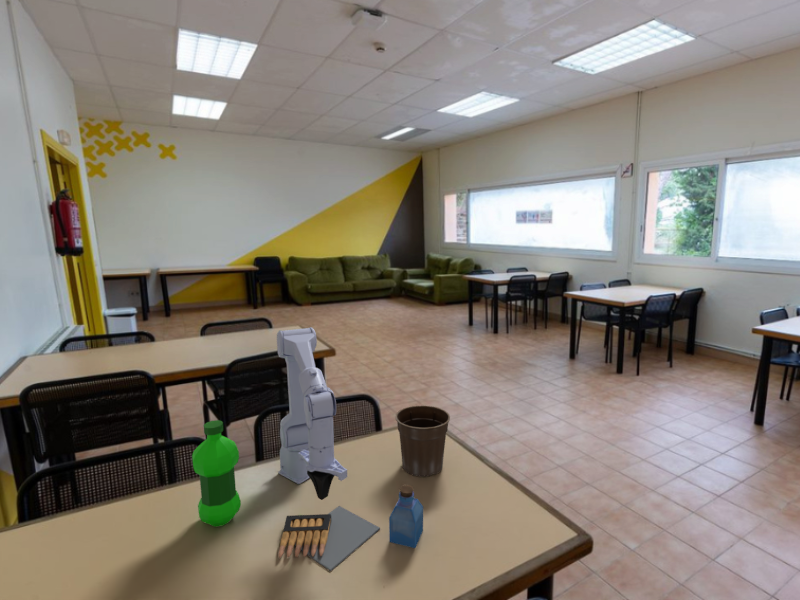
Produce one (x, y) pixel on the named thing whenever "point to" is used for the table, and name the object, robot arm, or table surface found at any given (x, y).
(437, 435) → the plant pot
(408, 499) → the perfume bottle
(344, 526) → the rubber mat
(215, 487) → the plastic bottle
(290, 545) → the ammunition clip
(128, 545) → the table surface
